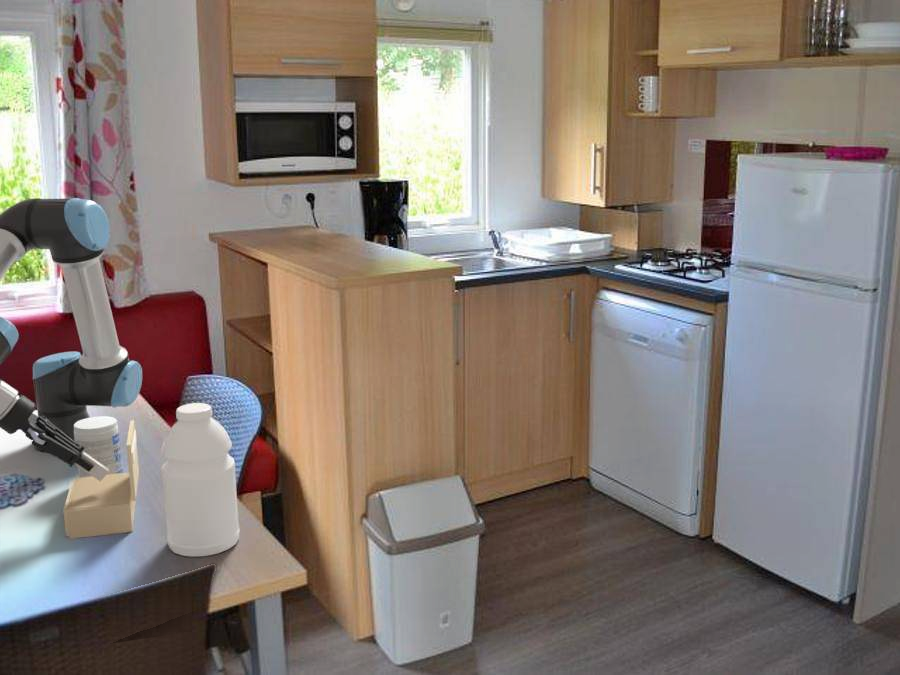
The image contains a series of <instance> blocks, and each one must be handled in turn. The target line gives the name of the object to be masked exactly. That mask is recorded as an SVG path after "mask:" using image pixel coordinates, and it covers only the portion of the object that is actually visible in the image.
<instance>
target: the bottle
mask: <svg viewBox="0 0 900 675" xmlns="http://www.w3.org/2000/svg"><path fill="white" fill-rule="evenodd" d="M175 415H176V417H175V418H176V420H177V421H176V422H175V423H174V424H173V425H172V427H171V428H170V429H169V431H168V432H167V433H166V435H165V437H164V439H163V442H162V447H161V455H162V456H163V457H165V459H167V460H166V461H165V462H164V463H163V464H162V465H161V477H162V487H163V498H164V508H165V519H166V528H167V530H166V531H167V533H166V535H167V536H166V539H167V544H168V548H169V549H170V550H171V551H172V552H173V553H174V554H177V555H179V556H184V557H192V558H193V557H194V558H195V557H207V556H213V555H217V554H220V553H223V552H224V551H227V550H229V549H231V548H233V547H234V546H236V545H237V543H238V541H239V539H240V535H241V534H240V532H241V530H240V525H239V524H240V523H239V512H238V511H239V510H238V509H239V508H238V495H237V494H238V493H237V492H238V491H237V479H236V478H237V477H236V475H237V474H236V463H235V462H236V461H235V459H234V457H232V456H231V455H230V454H229V452H230V450H231V449H232V448H233V443H232V440H231V438H230V436H229V433H228V432H227V430H226V429H225V428H224V426H222V424H221V423H219V422H218V421H217V420H216V419H215V418H213V409H212V406H211V405H210V404H207V403H203V402H192V403H187V404H183V405H180V406H179V407H177V408H176V411H175Z"/></svg>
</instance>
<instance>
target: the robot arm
mask: <svg viewBox="0 0 900 675" xmlns="http://www.w3.org/2000/svg"><path fill="white" fill-rule="evenodd" d="M109 233H111V227H110V222H109V219H108V217H107V214H106V212H105V210H104V209H103V207H102V206H101V205H100V204H98V203H97V202H96V201H94V200H91V199H84V198H82V199H81V198H78V197H73V198H39V197H38V198H28V199H24V200H21V201H19V202H17V203H15V204H13V205H11V206H10V207H9V208H7V209H5V210H4V211H2V212H1V213H0V282H1V281H2V279H4V277H5V275H6V274H7V272H8V271H9V269H10V268H11V267H12V265H13V264H14V263H15V262H17V261H21V259H22V258H23V257H25V255H26V253H27V252H30V251H32V250H38V249H39V250H49V252H50V255H51V260H52V262H53V263H55V264H57V265H58V266H60V267H61V270H62V275H63V278H64V282H65V287H66V291H67V296H68V298H69V302H70V306H71V309H72V310H71V311H72V315H73V318H74V322H75V327H76V330H77V334H78V336H79V341H80V345H81V349H82V354H81V352H80V351H76V350H75V351H64V352H58V353H53V354H50V355H47V356H43V357H40V358H39V359H37V360H36V361H34V362H33V365H32V380H33V387H34V394H35V401H34V402H33V401H32V400H31V399H30V398H28V397H27V396H26V395H24V394H20V395H19V391H18V390H17V389H16V388H14V387H12V386H11V385H10V384H9V383H7V382H6V381H4V380H2V379H1V378H0V429H1V430H4V431H5V432H6V433H7V434H10V435H12V434H15V433H16V432H17V431H19V430H21V432H23V433H24V434H25V437H26V438H28V439H29V440H31V445H32V446H33V447H34V449H35V450H37V451H39V452H44V453H45V452H46V453H49V454H50V455H52V456H53V457H55V458H57V459H58V460H60V461H62V462H64V463H66V464H68V466H69V467H70V468H73V466H74V465H75V466H77V468H78V467H80V468H81V469H83V470H84V471H85V472H87V473H88V474H90V475H91V476H93V477H94V478H96V479H97V480H99V481H101V480H102V479H103V478H104V477H105V476H106V475H107V474H108V473H109V469H108V468H106V467H105V466H104V465H102V464H101V463H99V462H98V461H96V460H95V459H94V458H92V457H91V456H89V455H88V454H86V453H85V452H82V451H83V450H84V449H85V447H84V446H82V447H81V448H79V447H80V445H79V444H78V443H76V442H75V439H74V424H75V423H76V422H78V421H80V420H82V419H86V418H90V417H91V416H90V414H89V413H88V408H87V406H88V407H89V406H90V407H91V406H92V407H111V408H113V409H114V408H118V407H119V408H121V407H122V408H125V407H129V406H131V405H133V404H134V402H135V401H136V400H137V398H138V396H139V394H140V391H141V388H142V383H143V368H142V366H141V364H140V363H139V362H138V361H135V360H130V357H129V353H128V351H127V349H126V348H125V347H123V346H122V345H120V342H119V338H118V334H117V329H116V324H115V321H114V317H113V312H112V309H111V303H110V298H109V295H108V291H107V286H106V282H105V277H104V273H103V269H102V265H101V260H100V259H101V257H102V256H103V254H104V253H105V248H106V247H107V246H108V245H109V244H108V243H109V242H110V237H111V236H110V234H109ZM19 336H20V335H19V331H18V329H17V327H16V325H14V323H13V322H12V321H11V320H8V319H7V318H4V317H3V316H0V366H1V365H2V363H3V362H4V361H5V359H6V358H7V357H8V356H9V354H11V353H12V351H13V349H14V347H15V345H16V344H17V342H18V340H19V338H20V337H19ZM35 402H36V403H35ZM36 409H37V410H36ZM35 410H36V411H37V415H36V413H34V411H35Z"/></svg>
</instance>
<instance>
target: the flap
mask: <svg viewBox="0 0 900 675" xmlns="http://www.w3.org/2000/svg"><path fill="white" fill-rule="evenodd" d="M128 427H129V428H128V432H127V438H126V439H127V440H126V446H125V447H126V456H127V457H126V458H127V466H128V467H127V468H128V472H129V478H130V488H131V499H132V501H136V502H137V494H138V484H139V477H140V471H139V470H140V468H139V457H138V456H139V455H138V447H137V440H138V439H137V430H136V426H135V420H134V419H131V420H129V426H128Z"/></svg>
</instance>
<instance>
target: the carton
mask: <svg viewBox="0 0 900 675" xmlns="http://www.w3.org/2000/svg"><path fill="white" fill-rule="evenodd" d="M136 503H137V500H136V501H132V499H131V488H130V478H129V471H127V472H123V473H118V474H108V475H106V476H105V477H104V478H103V479H102V480H101V481H99V480H97V479H96V478H94V477H93V476H89V477H80V478H79V477H75V479H73V480H71V482H70V485H69V489H68V492H67V497H66V500H65V503H64V506H63V510H62V512H63V519H64V520H63V521H64V528H65V537H66V538H69V540H72V539H82V538H90V537H97V536H99V537H100V536H105V535H106V536H107V535H114V534H116V535H117V534H123V533H130V532H133V531H134V530H133V529H134V523H135V522H134V521H135V512H136V505H137V504H136Z"/></svg>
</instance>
